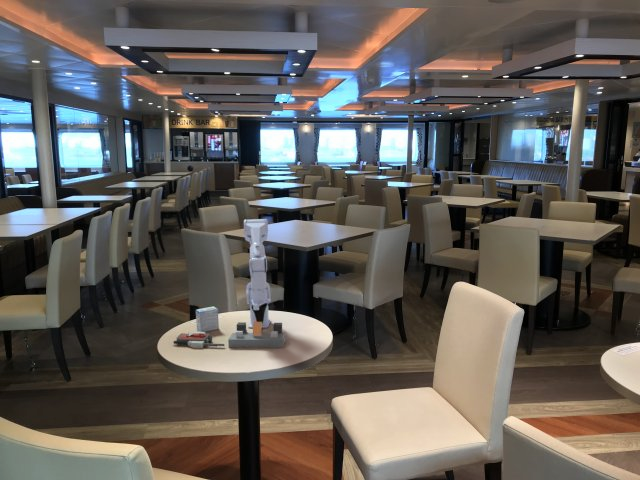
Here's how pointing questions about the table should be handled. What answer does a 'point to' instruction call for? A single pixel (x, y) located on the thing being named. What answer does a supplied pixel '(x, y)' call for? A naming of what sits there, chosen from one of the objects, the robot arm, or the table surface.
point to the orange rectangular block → (257, 328)
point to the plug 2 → (277, 327)
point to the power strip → (257, 340)
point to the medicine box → (207, 319)
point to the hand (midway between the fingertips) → (260, 322)
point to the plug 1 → (241, 327)
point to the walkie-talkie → (195, 340)
